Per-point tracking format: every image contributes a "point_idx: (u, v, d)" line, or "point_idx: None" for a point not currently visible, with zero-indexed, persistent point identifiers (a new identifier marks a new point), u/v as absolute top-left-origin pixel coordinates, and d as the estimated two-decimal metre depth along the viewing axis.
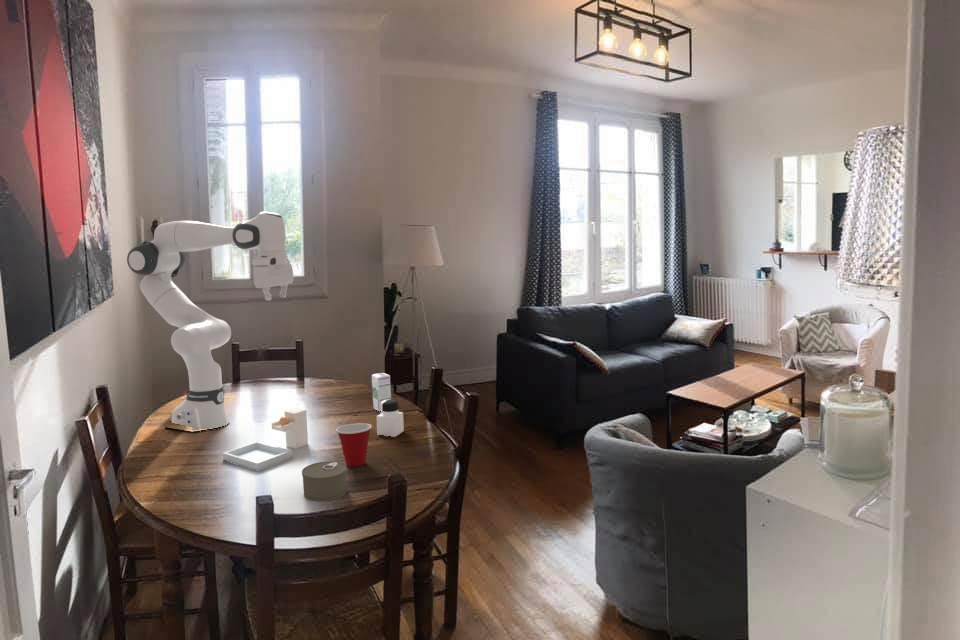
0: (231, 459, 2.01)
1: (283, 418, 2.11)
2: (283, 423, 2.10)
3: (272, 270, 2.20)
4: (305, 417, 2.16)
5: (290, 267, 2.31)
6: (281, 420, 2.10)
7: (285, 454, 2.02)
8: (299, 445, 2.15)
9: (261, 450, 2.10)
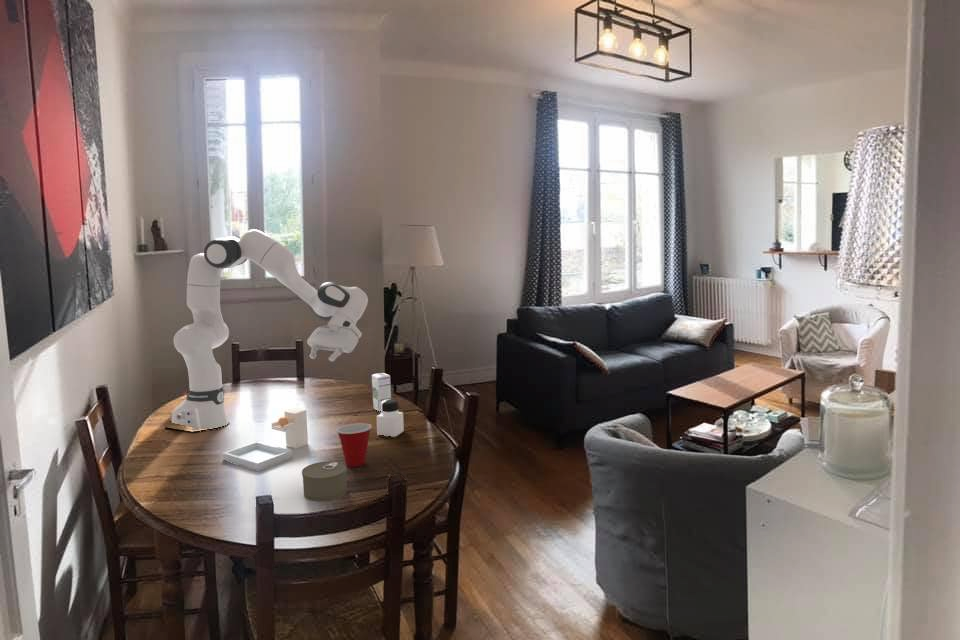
0: (231, 459, 2.01)
1: (281, 419, 2.10)
2: (282, 424, 2.10)
3: None
4: (305, 417, 2.16)
5: None
6: (280, 422, 2.10)
7: (285, 454, 2.02)
8: (299, 445, 2.15)
9: (261, 450, 2.10)
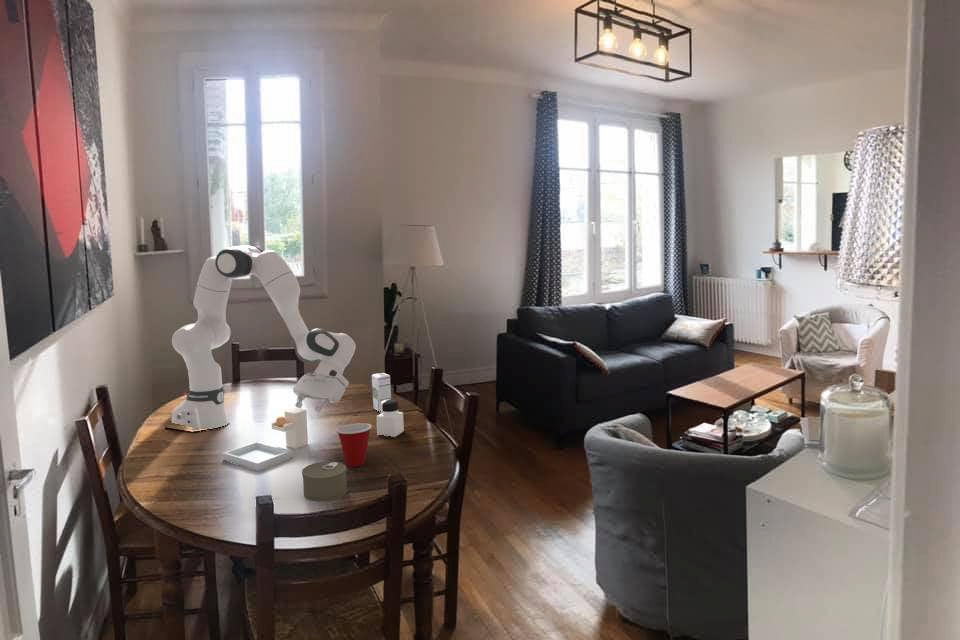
0: (231, 459, 2.01)
1: (278, 418, 2.11)
2: (281, 422, 2.10)
3: None
4: (305, 417, 2.16)
5: None
6: (277, 421, 2.10)
7: (285, 454, 2.02)
8: (299, 445, 2.15)
9: (261, 450, 2.10)
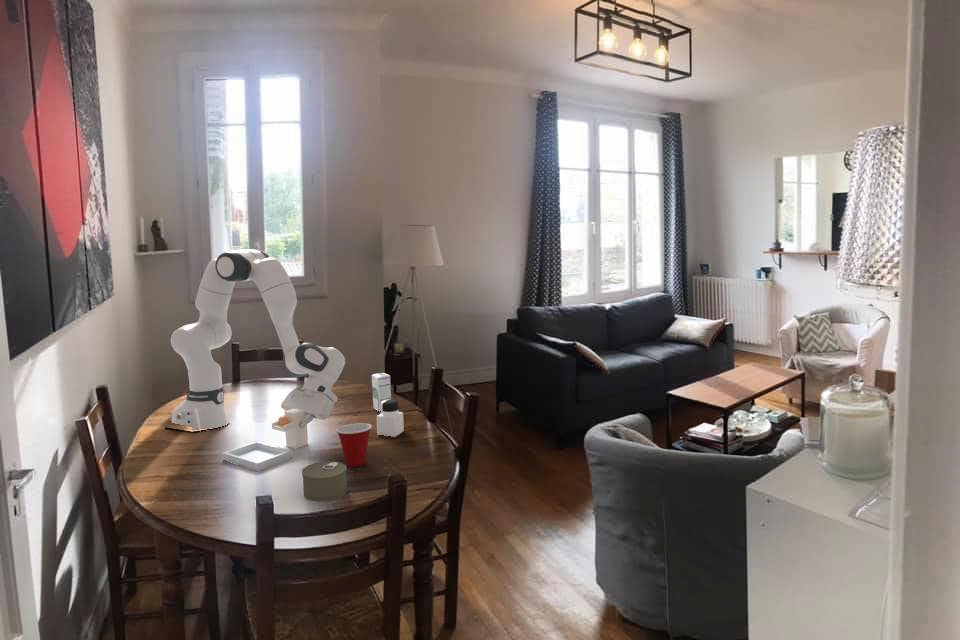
0: (231, 459, 2.01)
1: (282, 416, 2.12)
2: (283, 420, 2.11)
3: None
4: (305, 417, 2.16)
5: None
6: (281, 418, 2.11)
7: (285, 454, 2.02)
8: (299, 445, 2.15)
9: (261, 450, 2.10)
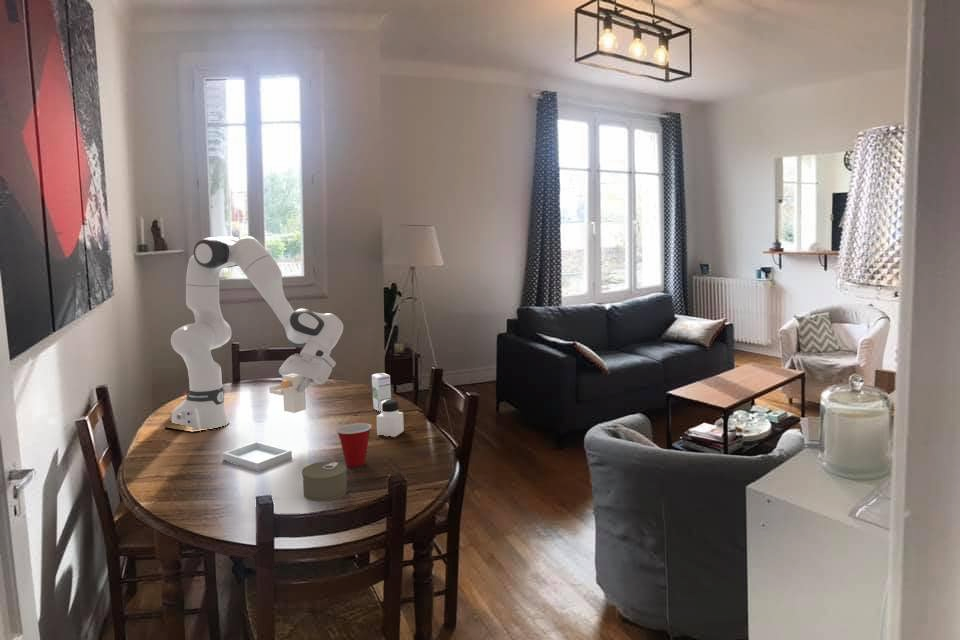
0: (231, 459, 2.01)
1: (288, 384, 2.09)
2: None
3: None
4: (303, 382, 2.14)
5: None
6: (286, 385, 2.09)
7: (285, 454, 2.02)
8: (297, 410, 2.13)
9: (261, 450, 2.10)
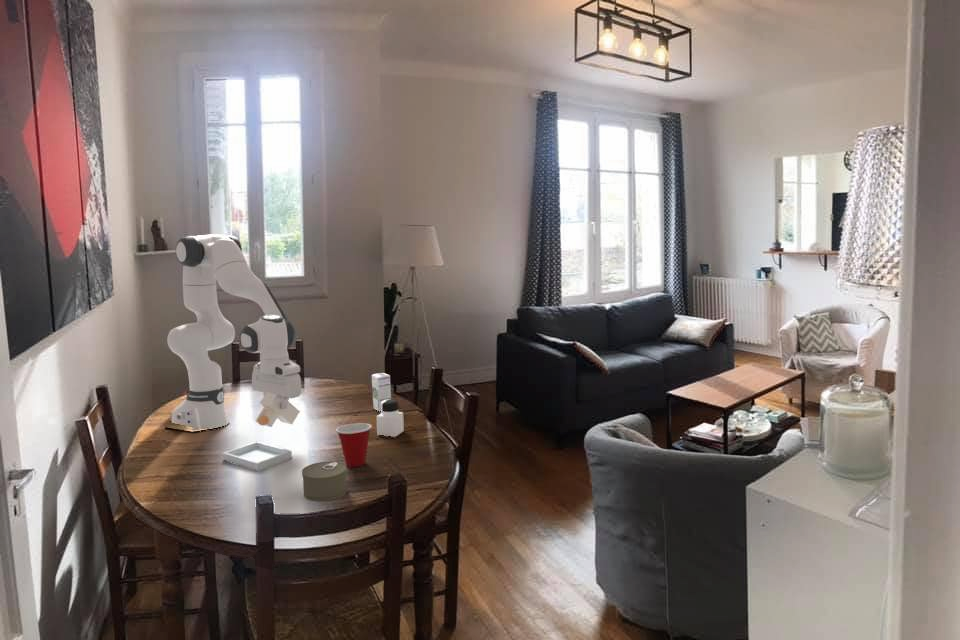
0: (231, 459, 2.01)
1: (265, 423, 2.03)
2: None
3: None
4: None
5: None
6: None
7: (285, 454, 2.02)
8: (293, 419, 2.12)
9: (261, 450, 2.10)
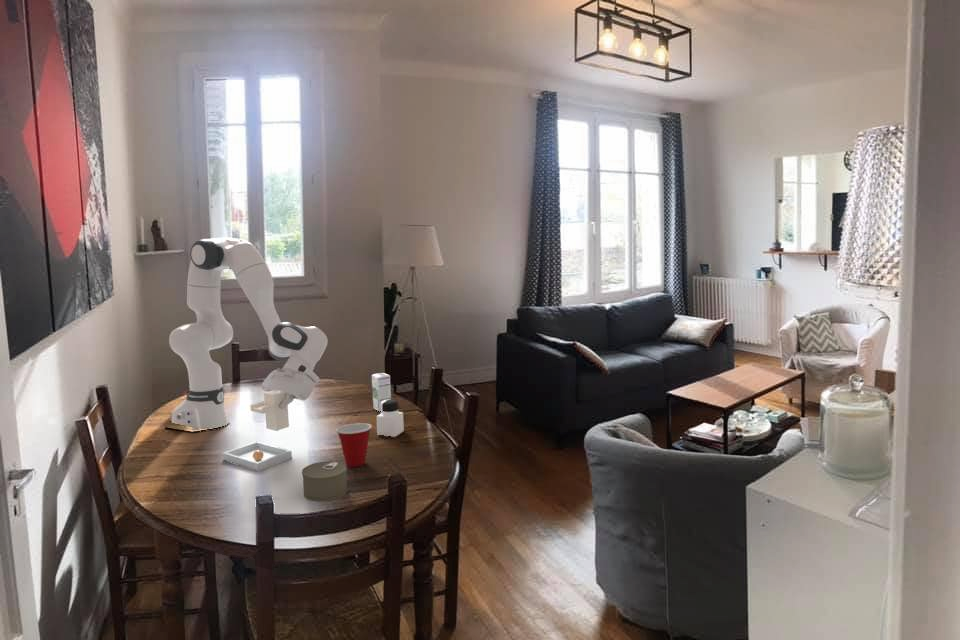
0: (231, 459, 2.01)
1: (260, 455, 2.00)
2: (255, 458, 2.00)
3: None
4: None
5: None
6: (257, 455, 2.00)
7: (285, 454, 2.02)
8: (279, 427, 2.08)
9: (261, 450, 2.10)
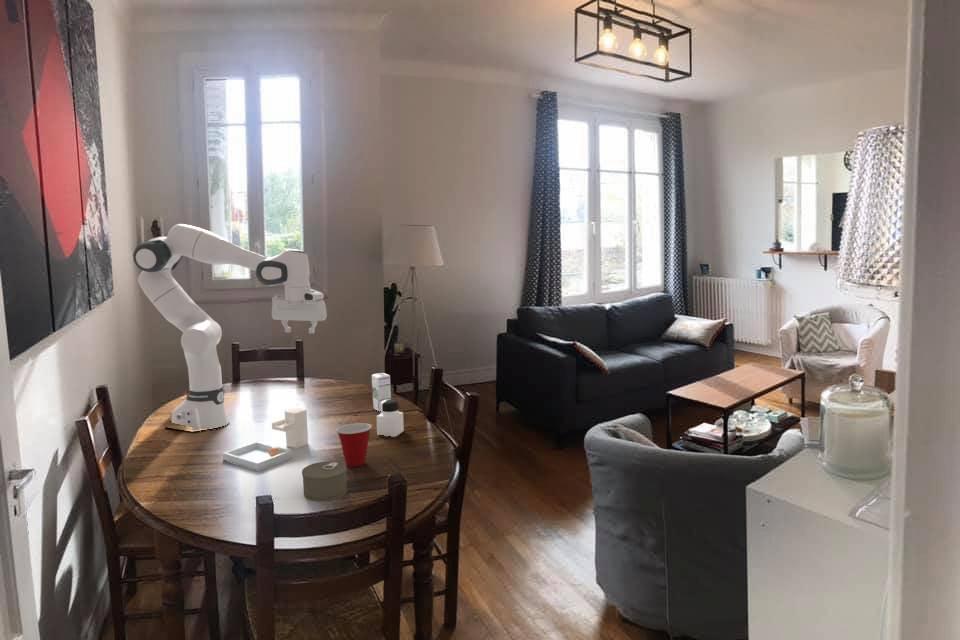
0: (231, 459, 2.01)
1: (275, 455, 2.03)
2: (278, 450, 2.04)
3: None
4: (305, 417, 2.16)
5: None
6: (277, 454, 2.04)
7: (285, 454, 2.02)
8: (299, 445, 2.15)
9: (261, 450, 2.10)
